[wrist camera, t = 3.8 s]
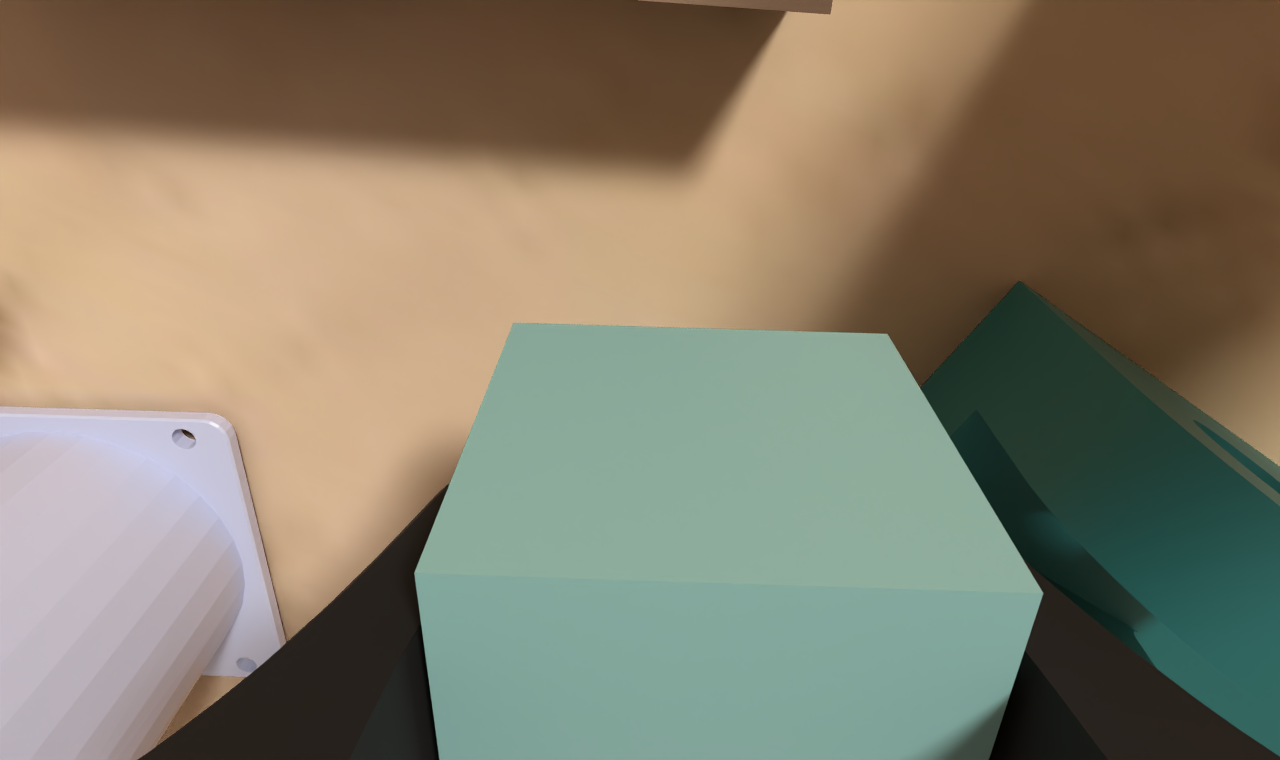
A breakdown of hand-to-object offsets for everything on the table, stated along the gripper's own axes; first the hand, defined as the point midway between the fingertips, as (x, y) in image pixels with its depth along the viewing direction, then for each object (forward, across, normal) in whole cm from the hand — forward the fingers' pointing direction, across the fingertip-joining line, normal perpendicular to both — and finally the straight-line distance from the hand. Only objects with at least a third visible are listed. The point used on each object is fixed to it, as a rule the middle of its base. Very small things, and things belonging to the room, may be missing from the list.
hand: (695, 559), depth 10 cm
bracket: (+9, -13, +7) cm, 17 cm away
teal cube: (+2, 0, 0) cm, 2 cm away
